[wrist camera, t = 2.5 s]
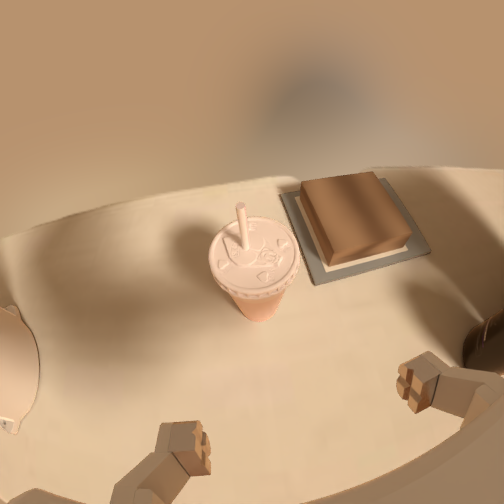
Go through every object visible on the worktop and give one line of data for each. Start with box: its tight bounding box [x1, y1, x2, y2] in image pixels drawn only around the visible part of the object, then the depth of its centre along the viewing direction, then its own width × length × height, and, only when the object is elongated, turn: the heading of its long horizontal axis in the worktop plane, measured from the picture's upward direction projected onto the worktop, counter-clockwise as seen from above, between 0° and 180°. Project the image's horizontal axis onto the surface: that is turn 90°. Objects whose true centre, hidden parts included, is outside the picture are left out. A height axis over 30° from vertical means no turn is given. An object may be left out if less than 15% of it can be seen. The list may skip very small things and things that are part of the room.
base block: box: [300, 172, 413, 267], centre depth 30 cm, size 10×10×3 cm
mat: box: [281, 178, 431, 286], centre depth 31 cm, size 16×13×1 cm
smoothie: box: [208, 202, 300, 322], centre depth 21 cm, size 6×6×14 cm
